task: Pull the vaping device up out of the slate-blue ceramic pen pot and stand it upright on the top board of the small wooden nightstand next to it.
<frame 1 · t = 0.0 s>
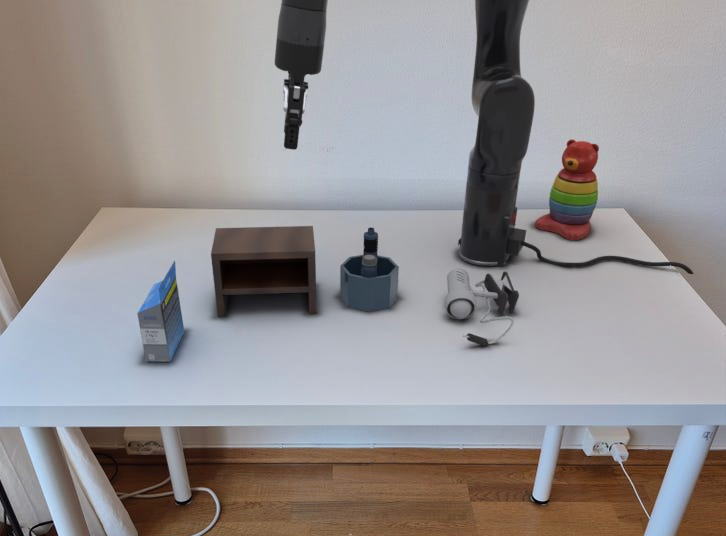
hand: (290, 141, 119), 22 cm above the table, tool pointing down, fingers open, 8 cm apart
pen pot: (368, 297, 120), on the table
vaping device: (368, 298, 120), resting in pen pot
clip-on lamp: (480, 321, 114), on the table
blue cardboard box: (166, 347, 106), on the table
stacking bear: (566, 228, 146), on the table
wooden nightstand: (267, 300, 118), on the table
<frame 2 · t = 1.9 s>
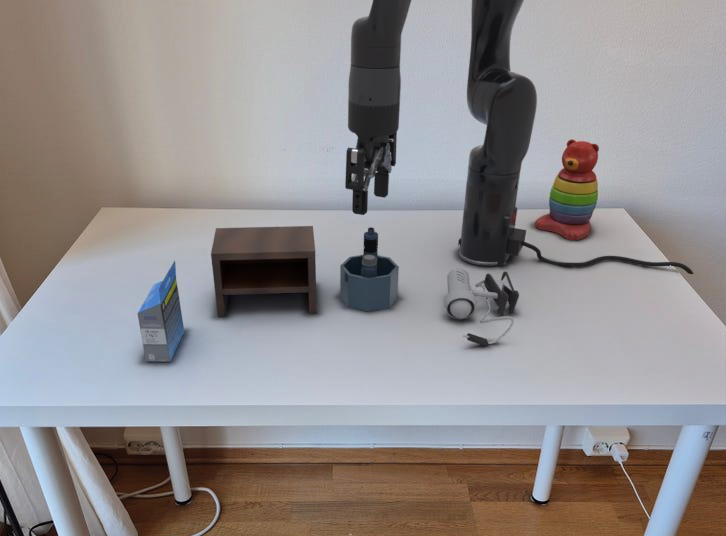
hand: (370, 204, 111), 17 cm above the table, tool pointing down, fingers open, 8 cm apart
nothing on the table moved.
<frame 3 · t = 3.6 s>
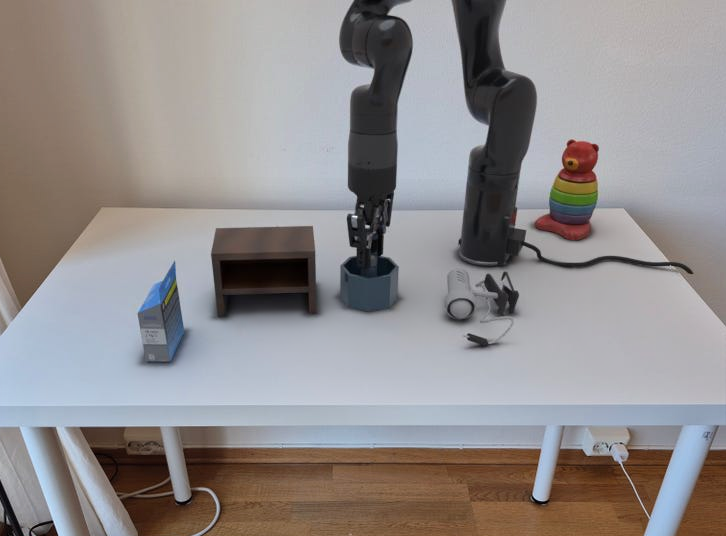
hand: (369, 260, 116), 7 cm above the table, tool pointing down, fingers closed on vaping device, 5 cm apart
vaping device: (368, 298, 120), resting in pen pot, touching gripper
everything else where it was.
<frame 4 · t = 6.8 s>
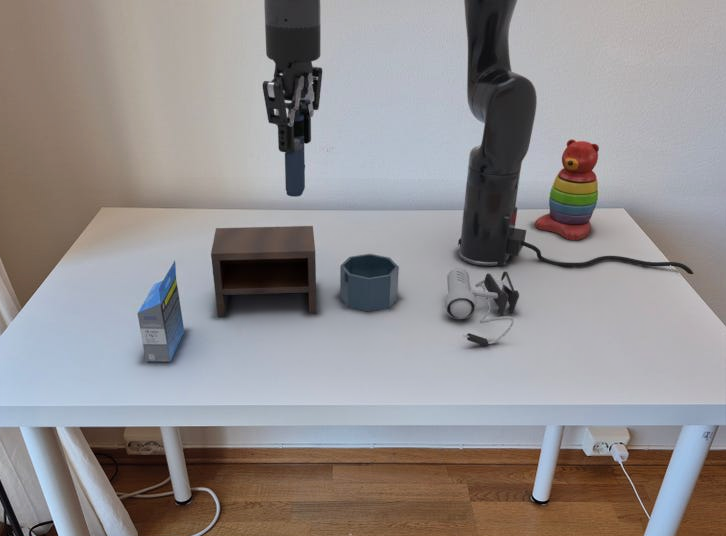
hand: (295, 146, 104), 26 cm above the table, tool pointing down, fingers closed on vaping device, 5 cm apart
vaping device: (295, 192, 108), point 19 cm above the table, touching gripper
everything else where it was.
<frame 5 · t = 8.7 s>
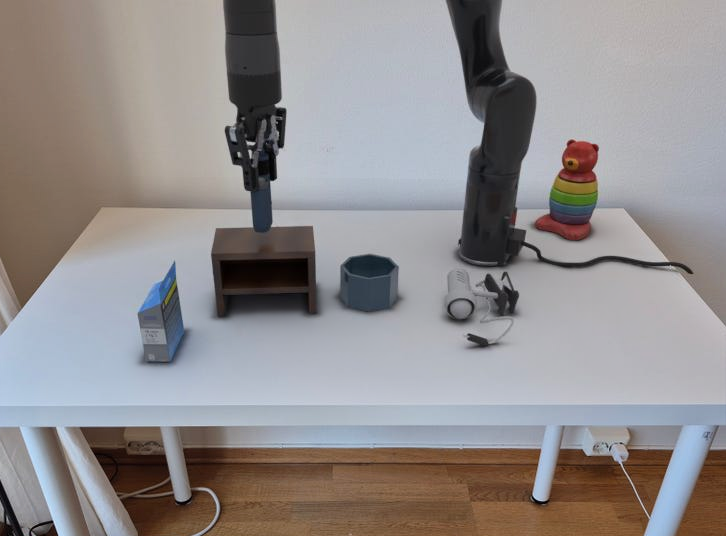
hand: (261, 184, 107), 20 cm above the table, tool pointing down, fingers closed on vaping device, 5 cm apart
vaping device: (263, 228, 111), point 13 cm above the table, touching gripper
everything else where it was.
when the fingers open (18 cm above the table, at t = 9.8 s): vaping device stays where it is, resting on wooden nightstand.
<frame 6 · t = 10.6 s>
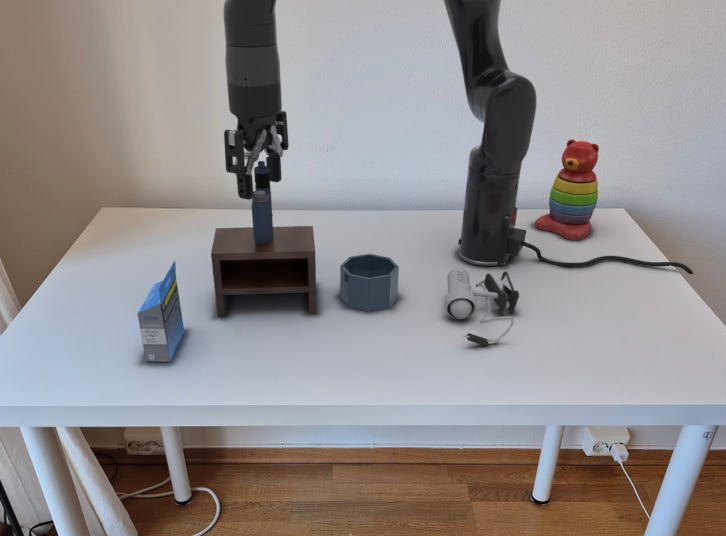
hand: (260, 189, 108), 19 cm above the table, tool pointing down, fingers open, 8 cm apart
vaping device: (264, 240, 112), point 11 cm above the table, touching wooden nightstand
everything else where it was.
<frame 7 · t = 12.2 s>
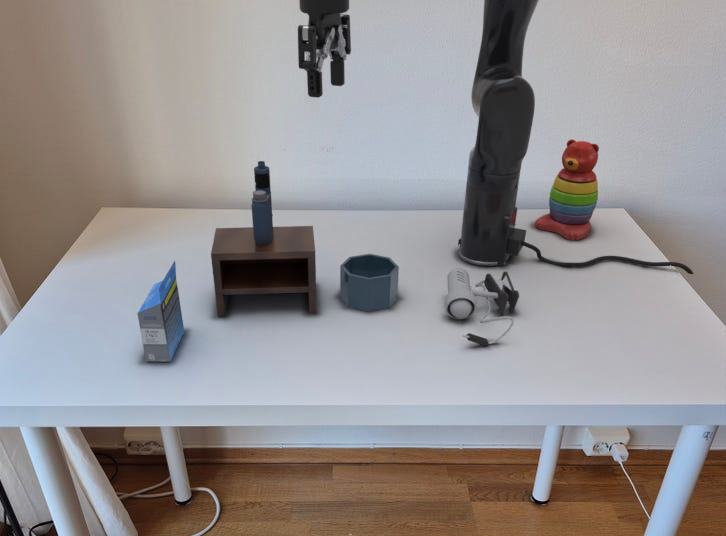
hand: (326, 90, 113), 31 cm above the table, tool pointing down, fingers open, 8 cm apart
nothing on the table moved.
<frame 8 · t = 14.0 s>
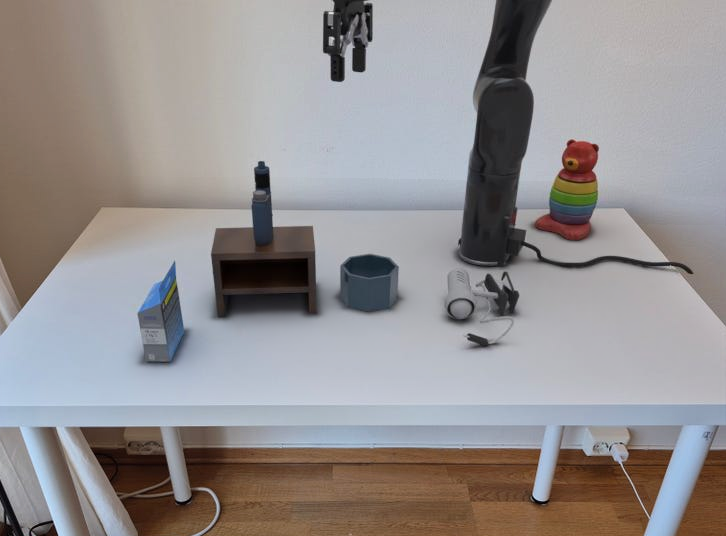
hand: (348, 76, 117), 32 cm above the table, tool pointing down, fingers open, 8 cm apart
nothing on the table moved.
at the end: vaping device inside the target area on the wooden nightstand (0.0 cm from its centre), point 11.0 cm above the wooden nightstand's base; vaping device tilted 0°; the gripper is holding nothing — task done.
